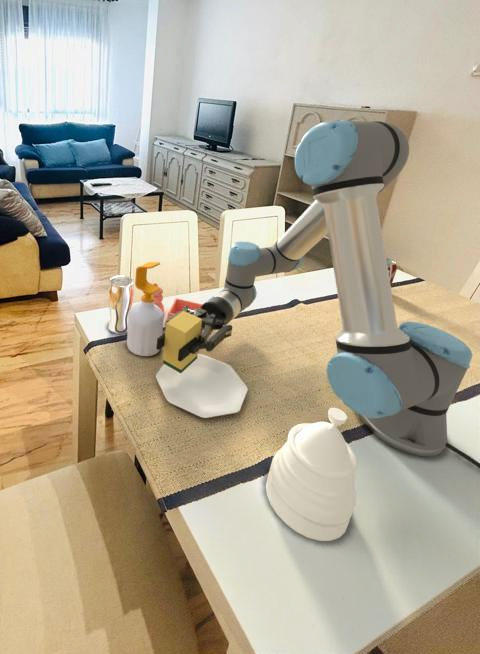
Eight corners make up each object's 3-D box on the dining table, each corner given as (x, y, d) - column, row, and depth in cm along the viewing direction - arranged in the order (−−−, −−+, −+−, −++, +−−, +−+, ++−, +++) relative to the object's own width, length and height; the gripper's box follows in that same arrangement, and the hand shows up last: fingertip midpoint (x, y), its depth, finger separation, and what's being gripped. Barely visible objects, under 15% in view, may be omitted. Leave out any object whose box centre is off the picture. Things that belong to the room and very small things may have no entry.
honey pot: (289, 453, 74) (311, 378, 67) (361, 507, 65) (394, 427, 58) (251, 492, 66) (271, 412, 60) (326, 560, 57) (359, 474, 50)
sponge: (197, 358, 91) (202, 319, 86) (180, 373, 86) (185, 332, 81) (179, 349, 94) (183, 310, 89) (162, 363, 89) (166, 323, 84)
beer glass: (128, 336, 106) (132, 288, 101) (104, 332, 107) (106, 285, 102) (133, 322, 113) (136, 277, 107) (110, 319, 114) (112, 273, 108)
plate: (261, 412, 83) (263, 407, 82) (176, 427, 78) (177, 422, 78) (218, 354, 101) (219, 350, 100) (147, 364, 96) (147, 359, 95)
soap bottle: (146, 362, 97) (154, 274, 88) (119, 345, 102) (124, 262, 93) (167, 346, 103) (176, 263, 94) (141, 332, 108) (147, 252, 100)
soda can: (362, 286, 142) (371, 256, 138) (379, 286, 143) (388, 256, 138) (375, 295, 136) (385, 264, 131) (392, 295, 136) (403, 264, 132)
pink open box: (203, 316, 118) (207, 288, 114) (197, 333, 109) (201, 303, 106) (147, 303, 123) (149, 275, 120) (137, 318, 115) (140, 289, 112)
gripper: (250, 337, 96) (203, 384, 79) (188, 309, 107) (135, 346, 90) (255, 311, 93) (207, 354, 77) (191, 285, 104) (137, 318, 88)
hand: (168, 349), depth 83 cm, fingers closed on sponge, 5 cm apart
